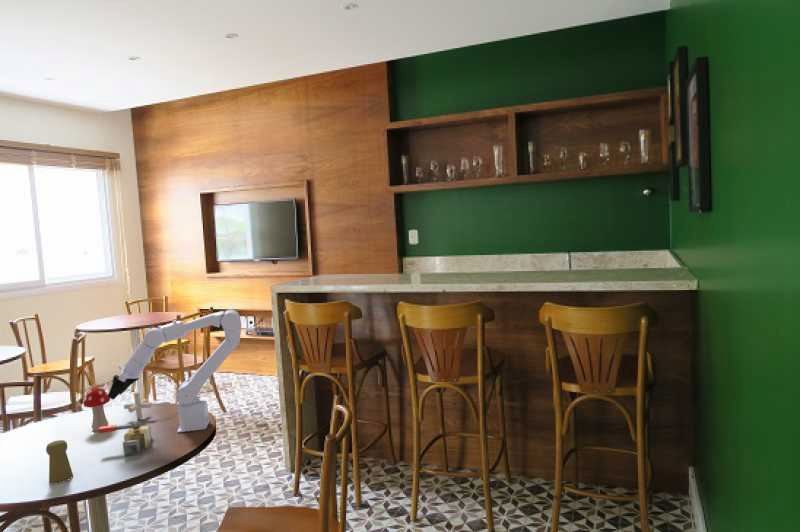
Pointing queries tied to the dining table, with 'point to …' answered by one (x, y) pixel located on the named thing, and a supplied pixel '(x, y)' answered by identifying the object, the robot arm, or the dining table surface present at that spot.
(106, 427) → the valve lever
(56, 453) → the cork
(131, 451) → the valve body
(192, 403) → the robot arm
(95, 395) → the decorative mushroom
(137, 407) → the pipe connector
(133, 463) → the dining table surface
